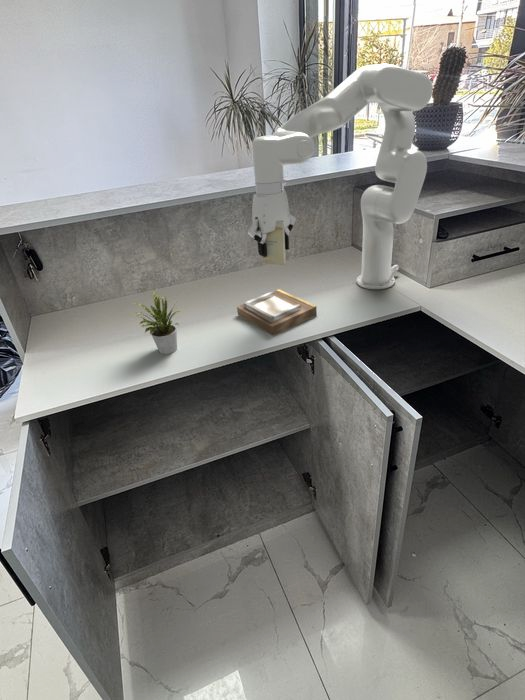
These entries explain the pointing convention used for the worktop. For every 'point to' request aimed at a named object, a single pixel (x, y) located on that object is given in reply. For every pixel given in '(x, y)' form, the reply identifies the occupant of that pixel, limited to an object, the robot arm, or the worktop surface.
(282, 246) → the skincare box
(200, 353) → the worktop surface
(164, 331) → the house plant
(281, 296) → the dock
